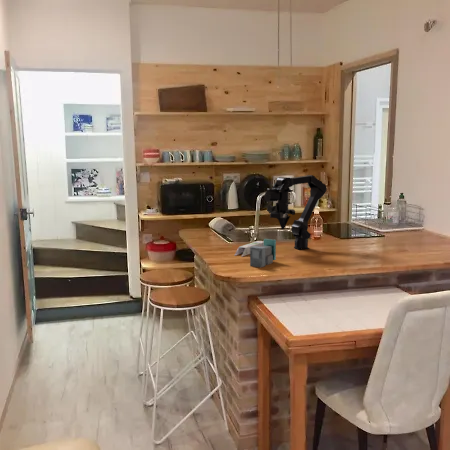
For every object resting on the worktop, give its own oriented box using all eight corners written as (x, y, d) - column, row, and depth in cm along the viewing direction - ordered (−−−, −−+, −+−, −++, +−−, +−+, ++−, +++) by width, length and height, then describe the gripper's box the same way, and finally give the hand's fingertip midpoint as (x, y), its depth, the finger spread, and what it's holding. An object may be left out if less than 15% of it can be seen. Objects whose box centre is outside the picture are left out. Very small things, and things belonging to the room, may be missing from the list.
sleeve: (262, 261, 249) (262, 245, 247) (273, 262, 245) (273, 246, 244) (256, 263, 244) (256, 247, 242) (267, 265, 240) (267, 248, 239)
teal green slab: (265, 258, 250) (265, 238, 249) (275, 259, 247) (275, 239, 246) (251, 263, 240) (251, 242, 238) (262, 264, 236) (262, 244, 235)
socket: (254, 264, 242) (254, 246, 241) (265, 265, 239) (265, 247, 237) (250, 265, 239) (250, 247, 237) (261, 267, 235) (261, 248, 234)
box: (265, 249, 280) (238, 258, 257) (258, 248, 282) (231, 257, 259) (265, 241, 279) (238, 250, 256) (258, 240, 281) (231, 249, 259)
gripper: (277, 198, 280) (277, 225, 283) (261, 201, 265) (261, 230, 267) (295, 199, 274) (295, 227, 277) (280, 202, 259) (279, 232, 261)
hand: (282, 229), depth 271 cm, fingers closed
